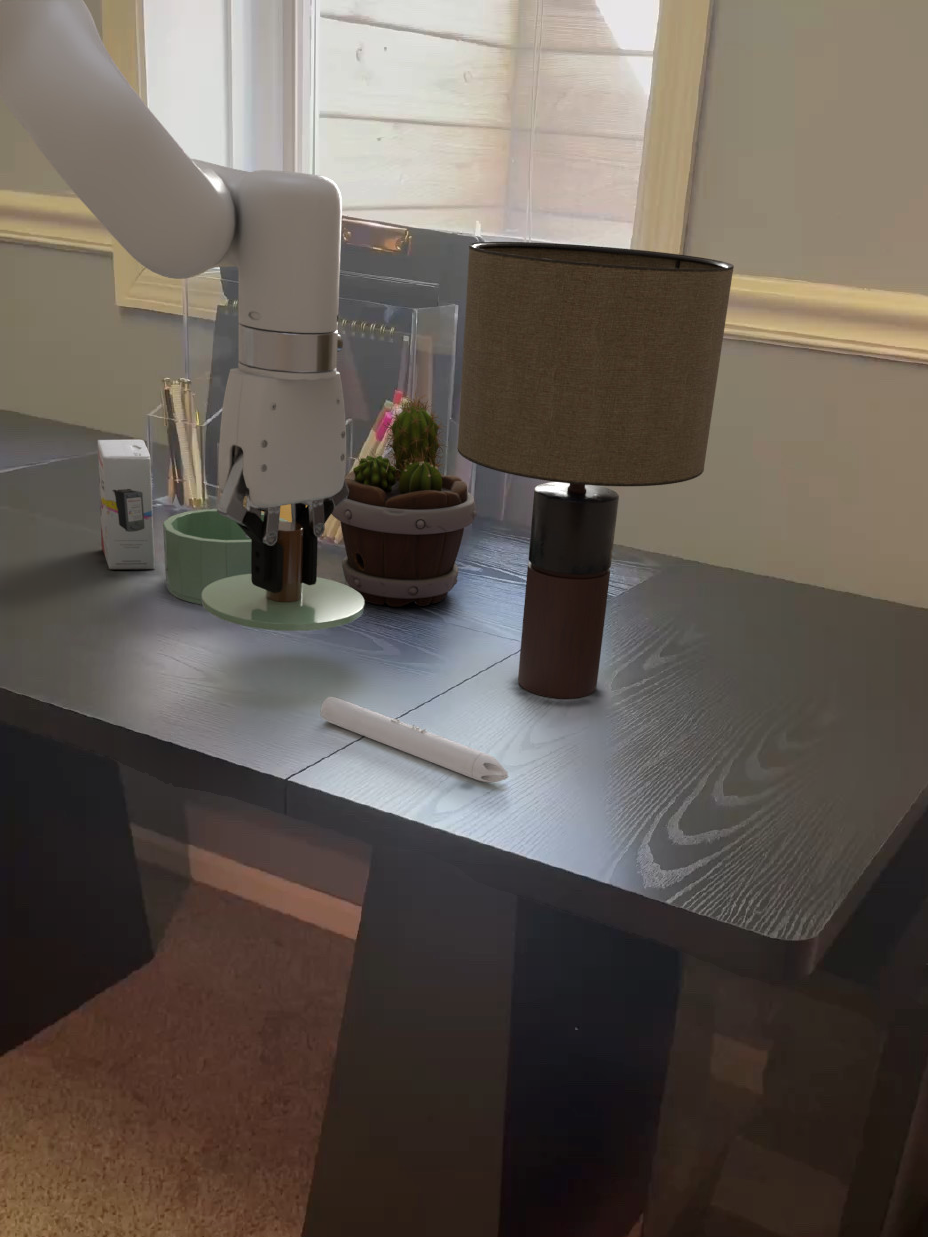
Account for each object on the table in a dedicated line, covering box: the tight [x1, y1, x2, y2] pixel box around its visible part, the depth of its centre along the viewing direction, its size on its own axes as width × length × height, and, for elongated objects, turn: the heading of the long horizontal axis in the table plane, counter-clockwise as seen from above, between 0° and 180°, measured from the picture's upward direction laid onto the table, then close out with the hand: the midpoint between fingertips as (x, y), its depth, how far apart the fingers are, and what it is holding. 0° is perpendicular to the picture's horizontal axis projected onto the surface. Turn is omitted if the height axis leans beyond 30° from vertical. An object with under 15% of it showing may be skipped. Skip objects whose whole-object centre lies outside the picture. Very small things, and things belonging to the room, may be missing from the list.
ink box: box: [97, 438, 156, 570], centre depth 137 cm, size 9×5×12 cm, turn 19°
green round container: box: [162, 508, 289, 605], centre depth 132 cm, size 13×13×6 cm
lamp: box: [457, 241, 735, 699], centre depth 107 cm, size 20×20×35 cm
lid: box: [201, 521, 366, 632], centre depth 108 cm, size 14×14×7 cm
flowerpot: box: [331, 387, 478, 608], centre depth 131 cm, size 14×15×20 cm
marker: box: [319, 696, 509, 783], centre depth 100 cm, size 18×2×2 cm, turn 53°
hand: (284, 582), depth 108 cm, fingers closed on lid, 3 cm apart
